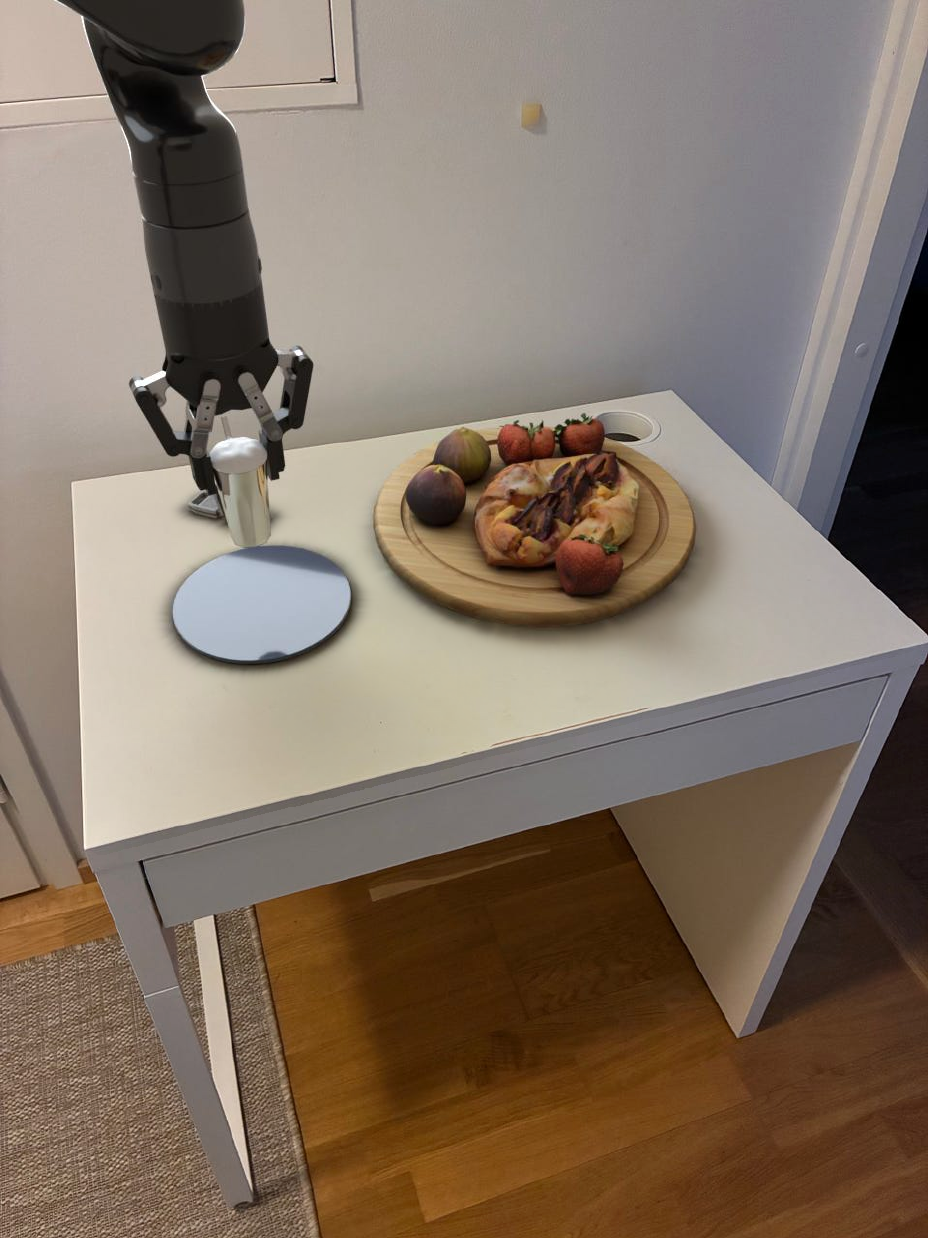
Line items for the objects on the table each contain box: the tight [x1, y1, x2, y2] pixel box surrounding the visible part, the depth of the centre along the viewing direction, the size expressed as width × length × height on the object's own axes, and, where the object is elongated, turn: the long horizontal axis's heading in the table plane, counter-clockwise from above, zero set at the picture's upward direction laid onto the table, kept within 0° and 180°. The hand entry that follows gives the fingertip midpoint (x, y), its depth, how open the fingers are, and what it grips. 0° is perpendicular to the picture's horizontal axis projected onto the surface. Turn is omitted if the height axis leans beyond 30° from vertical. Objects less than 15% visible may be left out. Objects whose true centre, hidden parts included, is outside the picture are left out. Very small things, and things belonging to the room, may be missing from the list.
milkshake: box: [209, 415, 272, 549], centre depth 79 cm, size 5×5×10 cm
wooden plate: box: [372, 412, 697, 627], centre depth 94 cm, size 32×32×8 cm
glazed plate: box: [171, 545, 352, 665], centre depth 87 cm, size 16×16×1 cm
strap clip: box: [187, 485, 226, 519], centre depth 96 cm, size 8×3×4 cm, turn 65°
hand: (240, 481), depth 78 cm, fingers closed on milkshake, 4 cm apart
